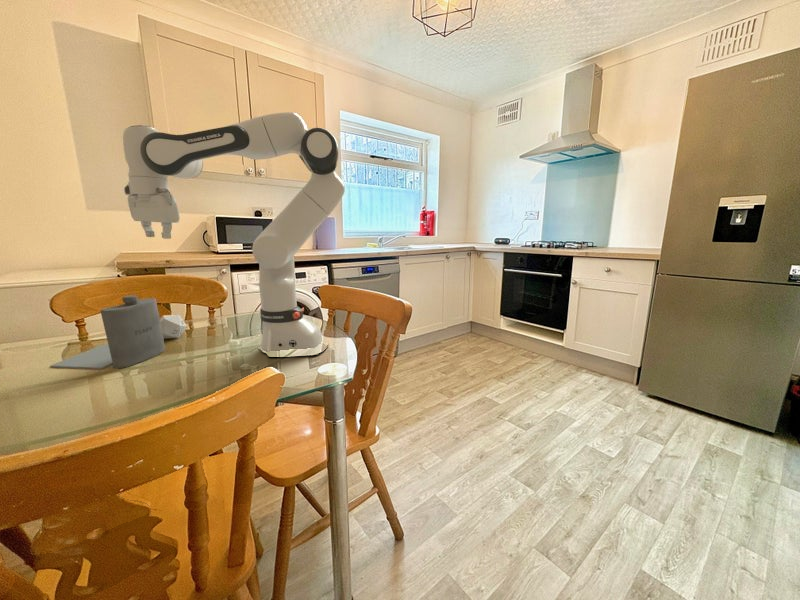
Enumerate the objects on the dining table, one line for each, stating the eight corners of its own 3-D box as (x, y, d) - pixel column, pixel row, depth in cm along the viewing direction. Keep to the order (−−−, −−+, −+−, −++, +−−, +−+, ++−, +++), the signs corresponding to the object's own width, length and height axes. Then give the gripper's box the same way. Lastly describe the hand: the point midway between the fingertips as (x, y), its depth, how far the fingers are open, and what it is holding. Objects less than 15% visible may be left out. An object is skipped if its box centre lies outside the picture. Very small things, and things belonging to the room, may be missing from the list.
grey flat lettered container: (124, 369, 92) (109, 303, 87) (109, 367, 94) (93, 301, 89) (171, 349, 106) (160, 291, 101) (157, 348, 108) (146, 290, 103)
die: (168, 345, 112) (184, 319, 114) (143, 332, 111) (161, 307, 113) (179, 344, 120) (195, 321, 122) (157, 333, 119) (173, 309, 121)
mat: (147, 347, 108) (147, 346, 108) (102, 369, 93) (102, 367, 92) (102, 345, 109) (102, 344, 109) (50, 367, 93) (50, 365, 93)
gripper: (182, 189, 89) (189, 239, 93) (145, 190, 99) (153, 235, 103) (156, 186, 84) (165, 240, 88) (120, 188, 94) (129, 236, 97)
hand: (158, 237), depth 95 cm, fingers open, 8 cm apart
